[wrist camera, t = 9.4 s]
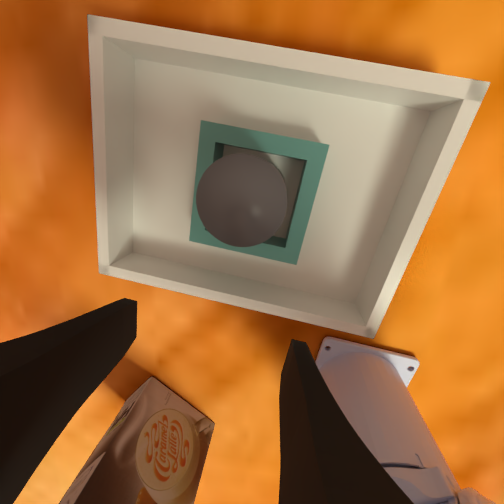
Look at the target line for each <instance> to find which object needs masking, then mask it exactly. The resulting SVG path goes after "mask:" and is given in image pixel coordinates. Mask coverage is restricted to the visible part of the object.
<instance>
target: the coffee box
mask: <svg viewBox="0 0 504 504" xmlns="http://www.w3.org/2000/svg"><path fill="white" fill-rule="evenodd" d="M214 425H215V424H214V423H213V422H212V421H211V420H209V419H208V418H207V417H205V416H204V415H203V414H201V413H200V412H199V411H197V410H196V409H195V408H194V407H192V406H191V405H190V404H188V403H187V402H186V401H184V400H183V399H182V398H180V397H179V396H178V395H176V394H175V393H174V392H172V391H171V390H170V389H168V388H167V387H166V386H164V385H163V384H162V383H160V382H159V381H158V380H157V379H155V378H154V377H150V378H149V379H148V380H147V381H146V382H145V383H144V384H142V385H141V386H140V387H139V388H138V389H137V390H136V391H135V392H134V393H133V394H132V395H131V396H130V397H129V398H128V399H127V400H126V401H125V403H124V405H123V407H122V408H121V410H120V412H119V413H118V415H117V416H116V418H115V420H114V421H113V423H112V424H111V426H110V427H109V429H108V430H107V432H106V433H105V435H104V436H103V438H102V439H101V441H100V442H99V443H98V445H97V446H96V448H95V449H94V451H93V452H92V454H91V455H90V457H89V459H88V460H87V462H86V463H85V465H84V466H83V468H82V469H81V471H80V472H79V474H78V475H77V477H76V478H75V480H74V481H73V483H72V484H71V486H70V487H69V489H68V490H67V492H66V493H65V495H64V496H63V498H62V500H61V501H60V503H59V504H194V501H195V497H196V493H197V489H198V486H199V482H200V478H201V475H202V471H203V467H204V463H205V459H206V455H207V452H208V448H209V444H210V441H211V437H212V433H213V430H214Z"/></svg>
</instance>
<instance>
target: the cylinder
mask: <svg viewBox="0 0 504 504" xmlns="http://www.w3.org/2000/svg"><path fill="white" fill-rule="evenodd" d="M196 206H197V211H198V214H199V217H200V219H201V221H202V223H203V225H204V226H205V228H206V229H207V230H208V231H209V233H210V234H211V235H213V236H214V237H215V238H216V239H218V240H219V241H221V242H223V243H225V244H228V245H231V246H235V247H251V246H255V245H258V244H261V243H263V242H265V241H266V240H268V239H269V238H270V237H272V236H273V235H274V234H275V233H276V232H277V230H278V229H279V228H280V226H281V224H282V223H283V220H284V218H285V215H286V211H287V191H286V183H285V179H284V177H283V175H282V173H281V171H280V170H279V169H278V168H277V167H276V166H275V165H273V164H272V163H270V162H268V161H266V160H264V159H261V158H259V157H256V156H254V155H250V154H241V153H239V154H231V155H227V156H224V157H222V158H220V159H218V160H216V161H215V162H214V163H212V164H211V165H210V166H209V167H208V168H207V169H206V171H205V172H204V173H203V175H202V177H201V179H200V181H199V184H198V187H197V192H196Z"/></svg>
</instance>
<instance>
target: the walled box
mask: <svg viewBox="0 0 504 504" xmlns="http://www.w3.org/2000/svg"><path fill="white" fill-rule="evenodd" d="M87 20H88V42H89V64H90V86H91V108H92V130H93V152H94V174H95V196H96V218H97V241H98V263H99V273H101V274H105V275H109V276H113V277H117V278H122V279H126V280H130V281H134V282H138V283H142V284H147V285H151V286H155V287H159V288H163V289H167V290H172V291H176V292H180V293H184V294H188V295H193V296H197V297H201V298H205V299H209V300H213V301H218V302H222V303H226V304H230V305H234V306H238V307H243V308H247V309H251V310H255V311H259V312H264V313H268V314H272V315H276V316H280V317H284V318H289V319H293V320H297V321H301V322H305V323H309V324H314V325H318V326H322V327H326V328H330V329H334V330H339V331H343V332H347V333H351V334H355V335H360V336H364V337H368V338H372V339H374V337H375V335H376V333H377V330H378V328H379V326H380V324H381V322H382V319H383V317H384V315H385V313H386V311H387V308H388V306H389V304H390V302H391V300H392V297H393V295H394V293H395V291H396V289H397V287H398V284H399V282H400V280H401V278H402V276H403V273H404V271H405V269H406V267H407V265H408V262H409V260H410V258H411V256H412V254H413V251H414V249H415V247H416V245H417V243H418V240H419V238H420V236H421V234H422V232H423V229H424V227H425V225H426V223H427V221H428V218H429V216H430V214H431V212H432V210H433V208H434V205H435V203H436V201H437V199H438V197H439V194H440V192H441V190H442V188H443V186H444V183H445V181H446V179H447V177H448V175H449V172H450V170H451V168H452V166H453V164H454V161H455V159H456V157H457V155H458V153H459V150H460V148H461V146H462V144H463V142H464V140H465V137H466V135H467V133H468V131H469V129H470V126H471V124H472V122H473V120H474V118H475V115H476V113H477V111H478V109H479V107H480V104H481V102H482V100H483V98H484V96H485V93H486V91H487V89H488V87H489V85H490V82H485V81H479V80H473V79H468V78H462V77H456V76H450V75H444V74H438V73H432V72H426V71H420V70H414V69H408V68H403V67H397V66H391V65H385V64H379V63H373V62H367V61H361V60H355V59H349V58H343V57H338V56H332V55H326V54H320V53H314V52H308V51H302V50H296V49H290V48H284V47H278V46H272V45H267V44H261V43H255V42H249V41H243V40H237V39H231V38H225V37H219V36H213V35H207V34H202V33H196V32H190V31H184V30H178V29H172V28H166V27H160V26H154V25H148V24H142V23H136V22H131V21H125V20H119V19H113V18H107V17H101V16H95V15H89V14H87ZM239 153H241V154H250V155H254V156H256V157H259V158H261V159H264V160H266V161H268V162H270V163H272V164H273V165H275V166H276V167H277V168H278V169H279V170H280V171H281V173H282V175H283V177H284V179H285V183H286V191H287V211H286V215H285V218H284V220H283V223H282V224H281V226H280V228H279V229H278V230H277V232H276V233H275V234H274V235H273V236H272V237H270V238H269V239H268V240H266V241H265V242H263V243H261V244H258V245H255V246H251V247H235V246H231V245H228V244H225V243H223V242H221V241H219V240H218V239H216V238H215V237H214V236H213V235H211V234H210V233H209V231H208V230H207V229H206V228H205V226H204V225H203V223H202V221H201V219H200V217H199V214H198V211H197V206H196V192H197V187H198V184H199V181H200V179H201V177H202V175H203V173H204V172H205V171H206V169H207V168H208V167H209V166H210V165H211V164H212V163H214V162H215V161H216V160H218V159H220V158H222V157H224V156H227V155H231V154H239Z"/></svg>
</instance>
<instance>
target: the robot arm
mask: <svg viewBox="0 0 504 504" xmlns="http://www.w3.org/2000/svg"><path fill="white" fill-rule="evenodd" d="M136 332H137V301H134V300H130V299H126V298H124V299H121V300H118V301H115V302H113V303H110V304H108V305H106V306H103V307H101V308H98V309H96V310H93V311H91V312H88V313H86V314H84V315H81V316H79V317H76V318H74V319H71V320H68V321H66V322H63V323H60V324H58V325H55V326H52V327H50V328H47V329H44V330H41V331H38V332H35V333H32V334H29V335H26V336H23V337H19V338H16V339H13V340H9V341H6V342H2V343H0V504H13V503H14V501H15V500H16V498H17V497H18V495H19V494H20V492H21V491H22V489H23V488H24V486H25V485H26V483H27V482H28V480H29V479H30V477H31V476H32V474H33V473H34V471H35V470H36V468H37V467H38V465H39V464H40V462H41V461H42V459H43V458H44V457H45V455H46V454H47V452H48V451H49V449H50V448H51V446H52V445H53V444H54V442H55V441H56V439H57V438H58V436H59V435H60V434H61V432H62V431H63V430H64V428H65V427H66V425H67V424H68V423H69V421H70V420H71V419H72V417H73V416H74V414H75V413H76V412H77V411H78V409H79V408H80V407H81V406H82V404H83V403H84V402H85V401H86V400H87V399H88V397H89V396H90V395H91V394H92V393H93V392H94V390H95V389H96V388H97V387H98V386H99V385H100V383H101V382H102V381H103V380H104V379H105V378H106V377H107V375H108V374H109V373H110V372H111V371H112V369H113V368H114V367H115V366H116V365H117V364H118V362H119V361H120V360H121V359H122V358H123V356H124V355H125V353H126V352H127V351H128V349H129V348H130V346H131V344H132V343H133V341H134V340H135V338H136ZM326 346H329V348H326ZM419 364H420V363H419V361H418V359H417V358H416V357H413V356H409V355H404V354H400V353H396V352H392V351H388V350H384V349H380V348H375V347H371V346H367V345H363V344H359V343H355V342H351V341H347V340H342V339H338V338H334V337H329V336H328V337H325V338H324V339H323V342H322V344H321V347H320V350H319V353H318V355H317V358H316V361H314V359H313V357H312V355H311V352H310V350H309V348H308V346H307V344H306V342H302V341H298V340H294V339H292V340H291V344H290V347H289V350H288V353H287V357H286V360H285V363H284V366H283V370H282V373H281V383H280V395H279V409H280V452H281V468H280V489H279V504H495V503H494V502H493V501H491V500H489V499H488V498H486V497H484V496H482V495H480V494H479V493H478V492H477V491H476V490H474V489H473V488H465V489H462V490H461V489H460V487H459V485H458V483H457V481H456V479H455V478H454V476H453V474H452V472H451V470H450V468H449V466H448V464H447V463H446V461H445V459H444V457H443V455H442V453H441V451H440V450H439V448H438V446H437V444H436V442H435V440H434V438H433V436H432V435H431V433H430V431H429V429H428V427H427V425H426V423H425V421H424V420H423V418H422V416H421V414H420V412H419V410H418V408H417V406H416V405H415V403H414V401H413V399H412V397H411V395H410V393H409V391H408V390H407V386H408V384H409V382H410V381H411V379H412V377H413V375H414V374H415V372H416V370H417V368H418V367H419ZM410 366H411V367H410ZM408 367H410V368H408Z"/></svg>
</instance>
